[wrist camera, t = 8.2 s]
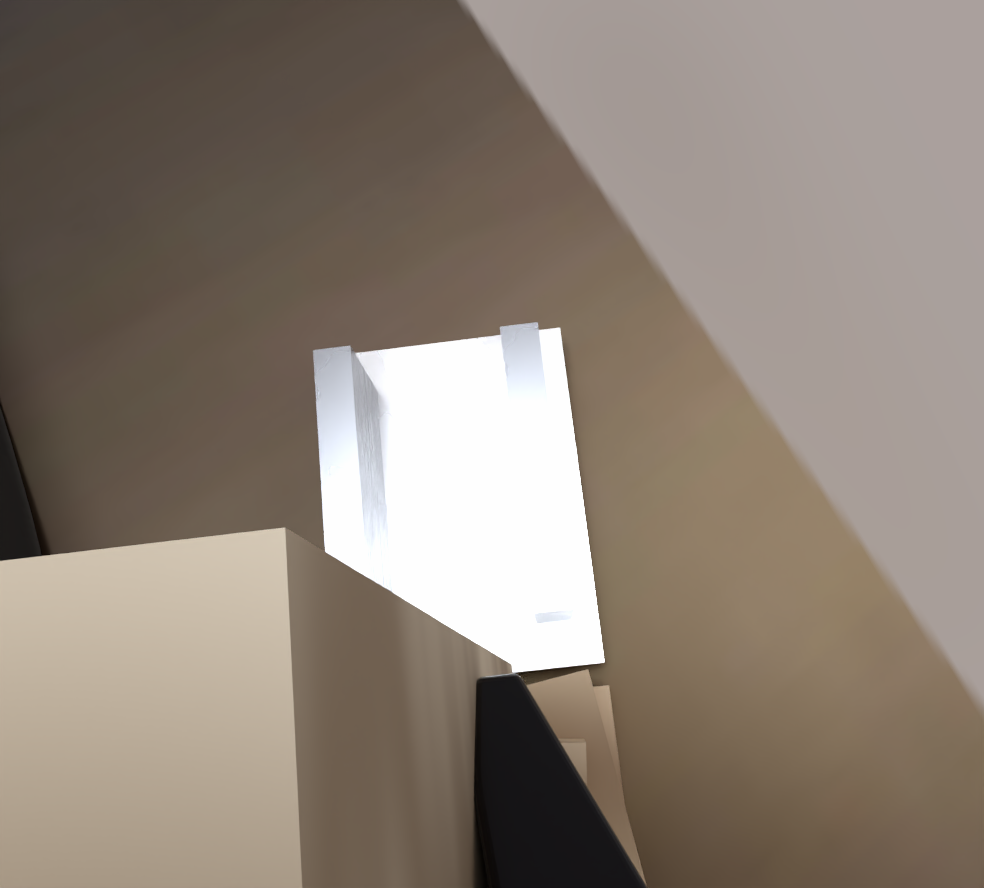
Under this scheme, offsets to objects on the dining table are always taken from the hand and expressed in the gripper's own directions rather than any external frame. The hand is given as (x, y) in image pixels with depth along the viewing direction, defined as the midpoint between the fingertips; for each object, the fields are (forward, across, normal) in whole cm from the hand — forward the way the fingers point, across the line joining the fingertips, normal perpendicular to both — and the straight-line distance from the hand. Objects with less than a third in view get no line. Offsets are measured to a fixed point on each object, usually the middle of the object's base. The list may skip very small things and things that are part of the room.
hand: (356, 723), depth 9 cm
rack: (+13, 0, +6) cm, 14 cm away
